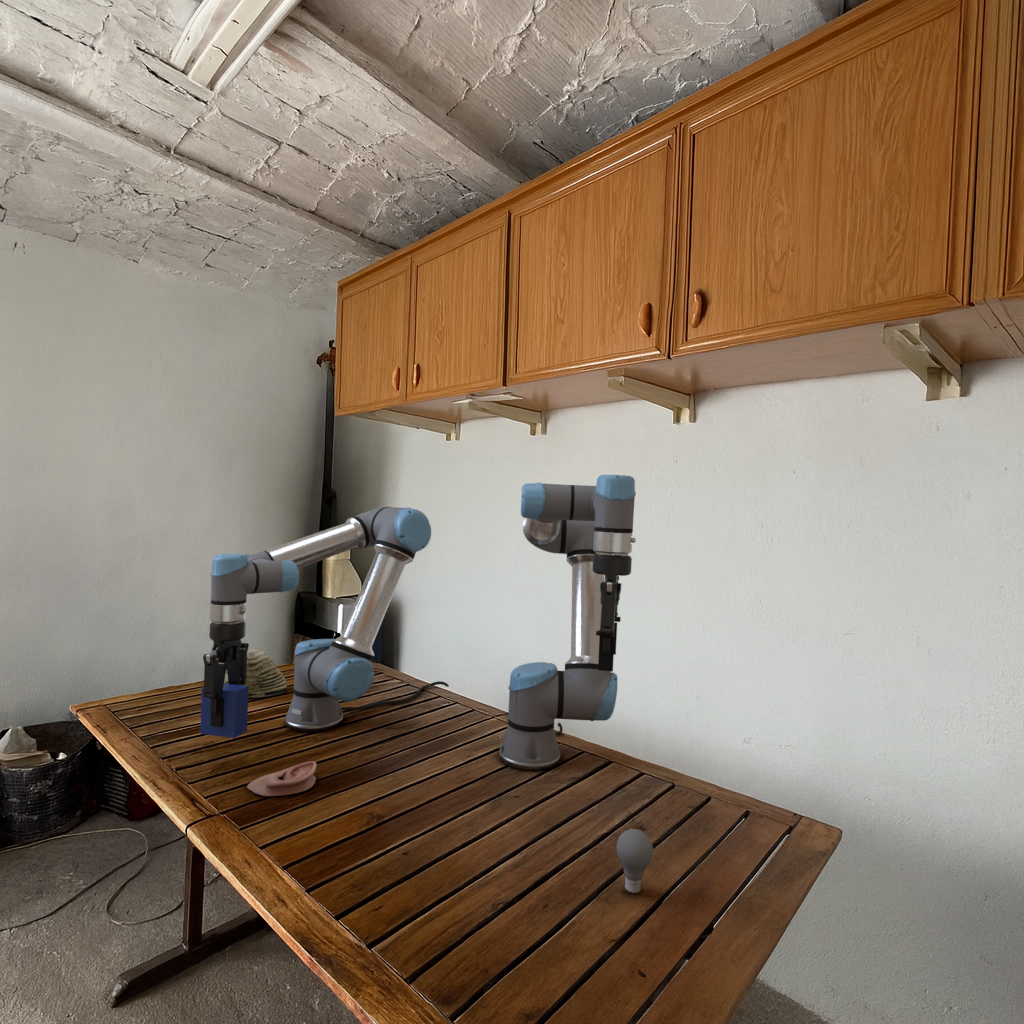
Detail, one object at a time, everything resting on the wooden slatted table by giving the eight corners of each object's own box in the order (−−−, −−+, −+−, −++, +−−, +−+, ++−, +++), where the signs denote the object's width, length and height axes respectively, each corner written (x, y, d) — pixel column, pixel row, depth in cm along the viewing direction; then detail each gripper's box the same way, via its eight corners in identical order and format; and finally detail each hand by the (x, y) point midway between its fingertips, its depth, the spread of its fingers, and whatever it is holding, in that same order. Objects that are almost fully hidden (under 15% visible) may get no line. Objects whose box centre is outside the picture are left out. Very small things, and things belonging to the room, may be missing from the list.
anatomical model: (239, 773, 134) (270, 753, 145) (238, 792, 134) (269, 770, 145) (296, 782, 131) (323, 760, 142) (295, 801, 131) (323, 777, 142)
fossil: (218, 695, 195) (220, 647, 195) (278, 685, 208) (279, 640, 207) (228, 703, 189) (230, 653, 188) (289, 692, 201) (290, 645, 201)
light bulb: (610, 879, 108) (613, 822, 108) (644, 879, 109) (647, 822, 109) (619, 902, 102) (622, 840, 102) (655, 901, 103) (658, 840, 103)
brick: (200, 733, 144) (201, 687, 144) (213, 726, 149) (215, 682, 149) (234, 738, 143) (236, 691, 143) (247, 731, 147) (248, 685, 147)
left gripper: (217, 630, 136) (213, 737, 136) (264, 615, 153) (261, 711, 154) (186, 627, 137) (183, 733, 138) (237, 613, 155) (233, 708, 155)
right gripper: (630, 560, 111) (625, 680, 111) (632, 550, 135) (628, 649, 136) (587, 557, 112) (582, 676, 113) (597, 548, 137) (592, 646, 137)
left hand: (224, 721), depth 146 cm, fingers closed on brick, 5 cm apart
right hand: (607, 661), depth 124 cm, fingers open, 13 cm apart
